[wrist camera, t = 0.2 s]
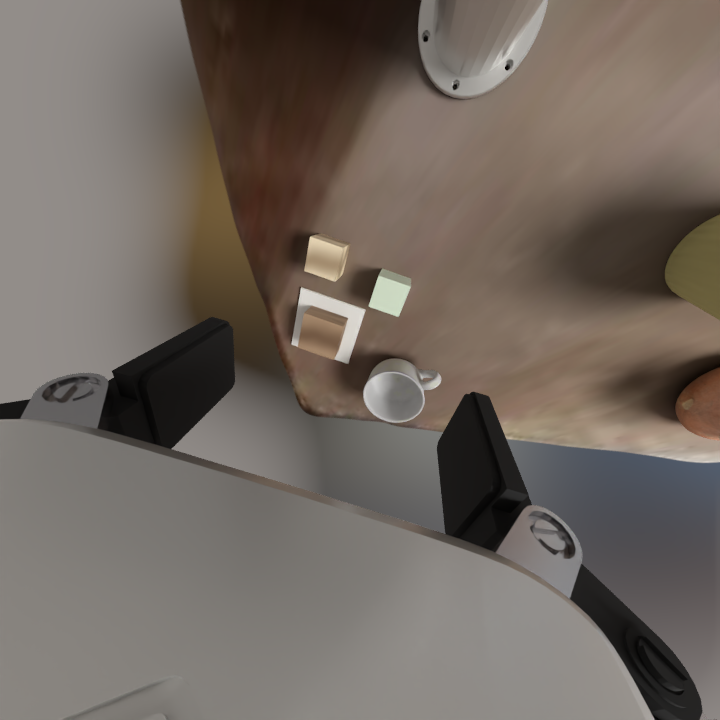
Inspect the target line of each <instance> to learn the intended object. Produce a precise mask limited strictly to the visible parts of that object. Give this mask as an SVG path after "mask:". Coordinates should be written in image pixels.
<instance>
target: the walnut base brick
mask: <svg viewBox="0 0 720 720" xmlns="http://www.w3.org/2000/svg"><path fill="white" fill-rule="evenodd" d="M347 321H348V318H347V317H344V316H341V315H338V314H335V313H333V312H330V311H327V310H324V309H321V308H318V307H315V306H311V307H310V308H309V309H308V310H307V311H306V312H305V313H304V316H303V321H302V326H301V332H300V337H299V343H298V348H301V349H304V350H307V351H310V352H312V353H315V354H318V355H321V356H324V357H327V358H330V359H333V360H334V359H335V357H336V355H337V353H338V351H339V349H340V345H341V342H342V338H343V335H344V331H345V328H346V324H347Z"/></svg>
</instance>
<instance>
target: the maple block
mask: <svg viewBox="0 0 720 720" xmlns="http://www.w3.org/2000/svg"><path fill="white" fill-rule="evenodd" d="M349 247H350V243H347V242H344V241H341V240H338V239H335V238H333V237H330V236H327V235H324V234H321V233H320V234H317V235H313V236H310V240H309V246H308V252H307V258H306V264H305V270H304V271H306V272H309V273H312V274H315V275H318V276H320V277H323V278H326V279H329V280H332V281H336V280H337V279H338V278H339V277H340V276H341V275H343V271H344V267H345V263H346V259H347V255H348V251H349Z"/></svg>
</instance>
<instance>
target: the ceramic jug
mask: <svg viewBox="0 0 720 720" xmlns="http://www.w3.org/2000/svg"><path fill="white" fill-rule="evenodd" d="M675 409H676V415H677V417H678V419H679V421H680V423H681V424H682V425H683V426H684V427H685V428H686V429H687V430H689V431H690V432H692V433H694V434H696V435H699V436H701V437H705V438H708V439H714V440H720V367H719V368H716V369H714V370H711V371H709V372H707V373H705V374H703V375H701V376H700V377H698V378H697V379H695V380H694V381H693V382H691V383H690V384H689V385H688V386H687V387H686V388H685V389H684V390H683V391H682V392H681V394H680V395H679V397H678V399H677V401H676V407H675Z"/></svg>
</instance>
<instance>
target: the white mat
mask: <svg viewBox="0 0 720 720" xmlns="http://www.w3.org/2000/svg"><path fill="white" fill-rule="evenodd" d="M311 306H315V307H318V308H321V309H324V310H327V311H330V312H333V313H335V314H338V315H341V316H344V317H347V318H348V321H347V324H346V328H345V331H344V335H343V338H342V342H341V345H340V349H339V351H338V353H337V355H336V357H335V360H338V361H341V362H344V363H346V364H348V363H349V360H350V357H351V354H352V350H353V347H354V344H355V341H356V338H357V335H358V332H359V329H360V325H361V322H362V319H363V316H364V313H365V310H366V309H363V308H361V307H358V306H355V305H352V304H349V303H346V302H343V301H340V300H337V299H335V298H332V297H329V296H326V295H323V294H320V293H317V292H314V291H312V290H309V289H306V288H303V287H301V291H300V297H299V302H298V308H297V314H296V320H295V326H294V332H293V338H292V345H295V346H298V343H299V337H300V332H301V326H302V321H303V316H304V313H305V312H306V311H307V310H308V309H309V308H310V307H311Z"/></svg>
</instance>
